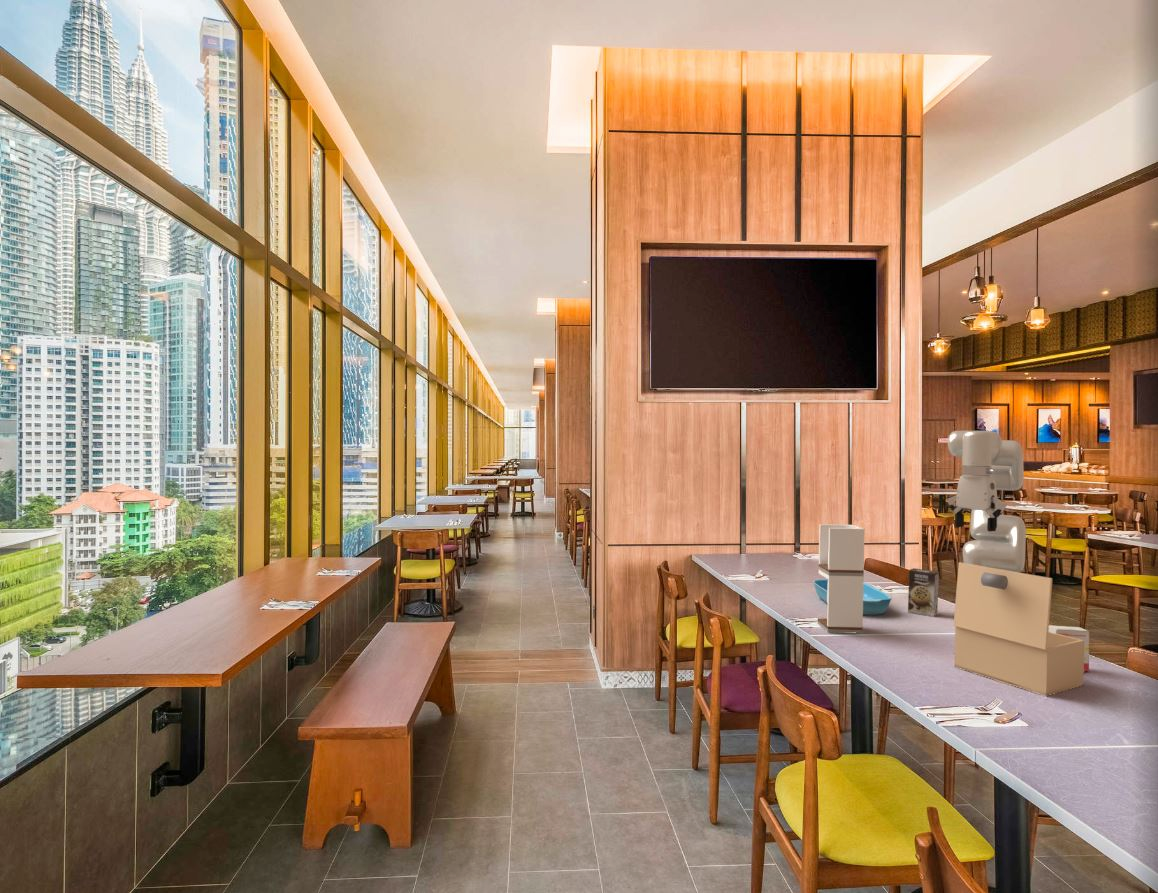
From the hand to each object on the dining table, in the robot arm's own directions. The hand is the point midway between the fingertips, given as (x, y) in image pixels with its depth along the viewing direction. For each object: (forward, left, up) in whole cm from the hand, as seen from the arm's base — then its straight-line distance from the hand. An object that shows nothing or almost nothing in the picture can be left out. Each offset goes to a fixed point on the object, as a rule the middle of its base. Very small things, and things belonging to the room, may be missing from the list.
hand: (975, 529), depth 201 cm
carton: (+6, +16, -38) cm, 42 cm away
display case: (+13, -38, -38) cm, 56 cm away
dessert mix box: (-33, -39, -38) cm, 64 cm away
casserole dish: (-18, -59, -39) cm, 73 cm away
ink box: (-14, +19, -38) cm, 45 cm away
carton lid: (+14, +16, -17) cm, 28 cm away
